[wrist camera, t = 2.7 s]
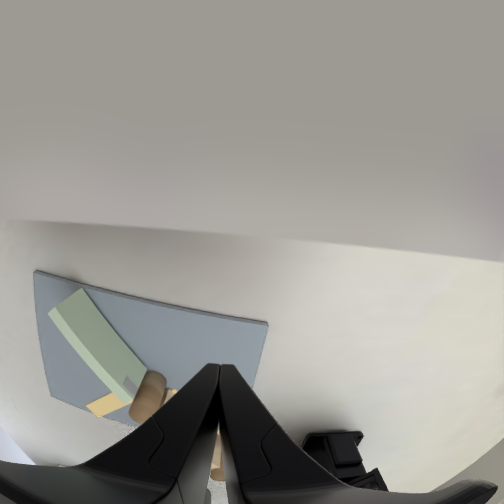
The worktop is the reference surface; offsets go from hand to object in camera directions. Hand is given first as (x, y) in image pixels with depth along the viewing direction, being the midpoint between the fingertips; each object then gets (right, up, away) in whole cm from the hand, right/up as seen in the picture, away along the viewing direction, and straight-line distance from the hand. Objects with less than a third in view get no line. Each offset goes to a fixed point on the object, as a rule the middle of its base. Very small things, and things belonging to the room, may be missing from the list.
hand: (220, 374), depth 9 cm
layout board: (-9, -6, +13) cm, 17 cm away
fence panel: (-10, -2, +11) cm, 15 cm away
